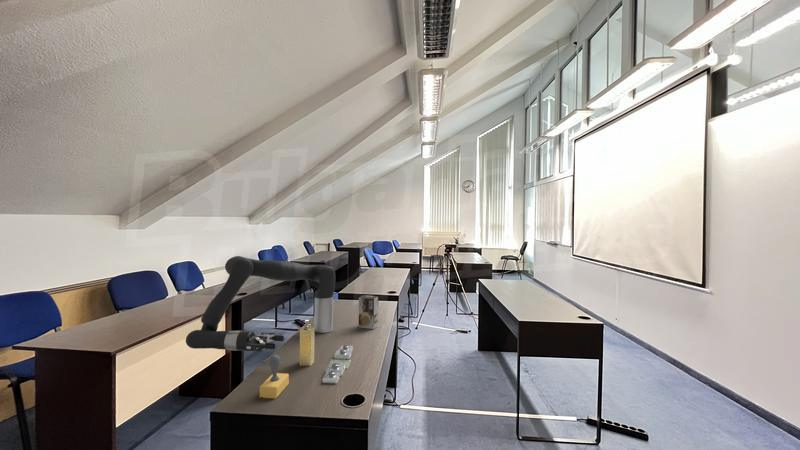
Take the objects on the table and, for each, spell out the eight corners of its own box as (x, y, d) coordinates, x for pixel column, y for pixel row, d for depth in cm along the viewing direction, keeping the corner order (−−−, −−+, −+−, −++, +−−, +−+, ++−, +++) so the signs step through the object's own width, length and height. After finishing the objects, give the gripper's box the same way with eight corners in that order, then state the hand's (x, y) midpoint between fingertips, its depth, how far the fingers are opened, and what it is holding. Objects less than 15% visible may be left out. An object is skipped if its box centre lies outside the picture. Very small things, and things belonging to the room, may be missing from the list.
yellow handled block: (273, 383, 121) (273, 349, 121) (289, 384, 121) (289, 349, 120) (259, 397, 111) (259, 360, 111) (276, 398, 111) (276, 361, 111)
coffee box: (378, 326, 187) (379, 296, 186) (373, 329, 180) (374, 298, 180) (363, 324, 190) (363, 294, 189) (357, 327, 183) (358, 297, 183)
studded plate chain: (338, 348, 153) (338, 342, 153) (356, 349, 153) (356, 343, 153) (318, 382, 122) (318, 374, 122) (340, 383, 121) (341, 375, 121)
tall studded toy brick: (303, 360, 140) (303, 323, 140) (314, 361, 140) (314, 323, 140) (299, 365, 136) (299, 326, 135) (310, 365, 136) (311, 327, 135)
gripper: (230, 337, 132) (272, 338, 131) (248, 325, 146) (286, 327, 145) (230, 357, 132) (272, 358, 131) (248, 343, 146) (286, 344, 145)
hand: (279, 342), depth 138 cm, fingers open, 8 cm apart
